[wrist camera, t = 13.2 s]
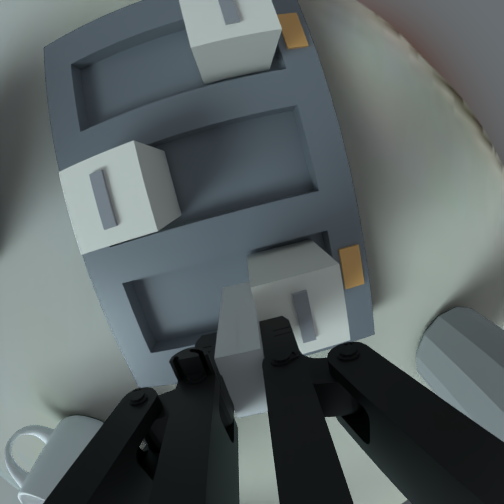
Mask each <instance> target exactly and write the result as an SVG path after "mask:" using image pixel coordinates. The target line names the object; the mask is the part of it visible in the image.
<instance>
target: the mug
mask: <svg viewBox="0 0 504 504" xmlns="http://www.w3.org/2000/svg"><path fill="white" fill-rule="evenodd" d="M103 424H104V423H103V422H101V421H99V420H96V419H94V418H90V417H86V416H79V415H74V416H69V417H66V418H64V419H63V420H62V421H61V422H60V423H59V424H58V426H57V427H56V428H55V429H51V428H48V427H45V426H40V425H30V426H26V427H24V428H22V429H20V430H18V431H17V432H16V433H15V434H14V435H13V436H12V437H11V438H10V439H9V441H8V442H7V445H6V447H5V461H6V465H7V468H8V470H9V472H10V474H11V475H12V477H13V478H14V480H15V481H16V482H17V484H18V485H19V486H20V488H21V489H20V491H19V493H18V498H19V500H20V502H21V503H22V504H43V503H44V501H45V500H46V499H47V497H48V496H49V495H50V493H51V492H52V491H53V489H54V488H55V487H56V485H57V484H58V483H59V481H60V480H61V479H62V477H63V476H64V475H65V473H66V472H67V471H68V469H69V468H70V467H71V466H72V464H73V463H74V462H75V460H76V459H77V458H78V456H79V455H80V454H81V452H82V451H83V450H84V448H85V447H86V446H87V445H88V443H89V442H90V441H91V439H92V438H93V437H94V435H95V434H96V433H97V432H98V430H99V429H100V428H101V426H102V425H103ZM24 434H31V435H35V436H37V437H39V438H40V439H41V440H42V441H43V442H44V443H45V444H46V445H45V447H44V448H43V450H42V452H41V453H40V455H39V457H38V459H37V460H36V462H35V464H34V466H33V467H32V469H31V471H30V473H29V472H27V471H25V470H24V469H22V468H21V467H20V466H19V465H18V464H17V463H16V462H15V460H14V458H13V456H12V450H11V448H12V444H13V442H14V440H15V439H16V438H17V437H19V436H21V435H24Z"/></svg>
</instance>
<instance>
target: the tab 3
mask: <svg viewBox="0 0 504 504" xmlns="http://www.w3.org/2000/svg"><path fill="white" fill-rule="evenodd" d="M247 262H248V270H249V279H250V288H251V292H252V295H253V299H254V302H255V306H256V309H257V313H258V317H259V320H260V321H263V320H267V319H271V318H275V317H279V316H284V317H285V318H287V319H288V320H289V322H290V325H291V327H292V330H293V333H294V336H295V339H296V342H297V345H298V348H299V350H300V352H301V353H302V354H305V353H309V352H312V351H316V350H319V349H323V348H326V347H330V346H333V345H336V344H340V343H343V342H346V341H349V340H350V332H349V324H348V317H347V310H346V303H345V296H344V290H343V283H342V277H341V271H340V265H339V263H338V262H336V261H335V260H334V259H333V258H332V257H331V256H330V255H328V254H327V253H326V252H325V251H324V250H323V249H322V248H320V247H319V246H318V245H317V244H316V243H315V242H314V241H312V240H311V239H308V240H304V241H301V242H297V243H293V244H289V245H285V246H281V247H277V248H273V249H270V250H266V251H262V252H258V253H254V254H250V255H247Z"/></svg>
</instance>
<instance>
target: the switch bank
mask: <svg viewBox="0 0 504 504" xmlns="http://www.w3.org/2000/svg"><path fill="white" fill-rule="evenodd" d="M271 1H272V3H273V6H274V9H275V11H276V14H277V17H278V19H279V22H280V25H281V28H282V31H281V34H280V37H279V40H278V43H277V47H276V50H275V53H274V56H273V60H272V63H271V66H270V70H265V71H260V72H255V73H250V74H245V75H241V76H236V77H232V78H228V79H224V80H220V81H216V82H212V83H208V84H204V82H203V80H202V77H201V74H200V71H199V69H198V66H197V63H196V61H195V58H194V55H193V52H192V50H191V47H190V43H189V39H188V35H187V31H186V27H185V23H184V19H183V15H182V11H181V7H180V3H179V0H142V1H140V2H137V3H134V4H132V5H129V6H126V7H124V8H121V9H119V10H117V11H114V12H112V13H109V14H107V15H105V16H103V17H100V18H98V19H96V20H94V21H92V22H90V23H88V24H86V25H84V26H82V27H80V28H78V29H76V30H74V31H72V32H70V33H68V34H66V35H64V36H63V37H61V38H59V39H57V40H56V41H54V42H52V43H50V44H49V45H47V46H45V47H44V64H45V79H46V90H47V99H48V108H49V116H50V123H51V129H52V136H53V141H54V147H55V152H56V158H57V163H58V167H59V172H60V171H62V170H64V169H66V168H68V167H70V166H73V165H75V164H77V163H79V162H81V161H84V160H86V159H88V158H91V157H93V156H95V155H98V154H100V153H103V152H105V151H108V150H110V149H113V148H115V147H118V146H120V145H123V144H125V143H128V142H131V141H133V140H134V141H137V142H140V143H143V144H146V145H149V146H151V147H154V148H157V149H160V150H163V151H165V155H166V159H167V163H168V166H169V170H170V174H171V178H172V182H173V185H174V189H175V193H176V196H177V200H178V204H179V207H180V211H181V214H182V215H181V216H180V217H178V218H177V219H175V220H174V221H172V222H171V223H169V224H168V225H166V226H165V227H163V228H162V229H160V230H159V231H157V232H154V233H150V234H147V235H143V236H140V237H137V238H133V239H130V240H127V241H124V242H120V243H117V244H114V245H111V246H108V247H104V248H101V249H98V250H95V251H92V252H89V253H86V254H83V255H82V256H83V259H84V262H85V265H86V267H87V270H88V273H89V276H90V279H91V281H92V284H93V287H94V289H95V292H96V294H97V297H98V300H99V302H100V305H101V307H102V309H103V312H104V314H105V317H106V319H107V321H108V324H109V326H110V328H111V331H112V333H113V335H114V337H115V339H116V342H117V344H118V346H119V348H120V350H121V352H122V354H123V356H124V359H125V361H126V363H127V365H128V367H129V369H130V371H131V373H132V374H133V376H134V378H135V380H136V382H137V384H138V386H139V388H143V387H155V386H162V385H169V384H176V383H178V380H177V378H176V376H175V374H174V372H173V369H172V367H171V365H170V363H169V360H170V359H171V357H172V356H174V355H175V354H176V353H178V352H180V351H182V350H184V349H187V348H191V347H195V344H196V342H197V340H198V339H199V338H200V337H201V336H202V335H206V334H211V333H215V332H217V331H218V323H219V315H220V307H221V300H222V292H223V288H224V287H228V286H232V285H236V284H240V283H244V282H248V281H250V279H249V270H248V262H247V255H250V254H254V253H258V252H262V251H266V250H270V249H273V248H277V247H281V246H285V245H289V244H293V243H297V242H301V241H304V240H308V239H311V240H312V241H314V242H315V243H316V244H317V245H318V246H319V247H320V248H322V249H323V250H324V251H325V252H326V253H327V254H328V255H330V256H331V257H332V258H333V259H334V260H335V261H336V262H338V263H339V265H340V271H341V277H342V283H343V290H344V296H345V303H346V310H347V317H348V324H349V332H350V340H349V341H346V342H353V341H356V340H359V339H362V338H365V337H368V336H371V335H374V334H375V332H374V320H373V310H372V300H371V291H370V283H369V275H368V267H367V260H366V253H365V247H364V240H363V234H362V228H361V222H360V217H359V211H358V206H357V201H356V196H355V191H354V186H353V181H352V177H351V172H350V168H349V163H348V159H347V155H346V150H345V146H344V142H343V138H342V134H341V131H340V127H339V123H338V119H337V116H336V112H335V109H334V105H333V102H332V98H331V95H330V91H329V88H328V85H327V82H326V78H325V75H324V72H323V69H322V66H321V63H320V60H319V57H318V54H317V51H316V48H315V46H314V43H313V40H312V37H311V35H310V32H309V29H308V27H307V24H306V21H305V19H304V16H303V14H302V11H301V9H300V6H299V4H298V1H297V0H271ZM343 343H345V342H343ZM340 344H342V343H340ZM337 345H339V344H336V345H333V346H330V347H326V348H323V349H319V350H316V351H312V352H309V353H305V354H303V355H304V356H306V355H310V354H313V353H317V352H320V351H324V350H327V349H331V348H334V347H336V346H337Z"/></svg>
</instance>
